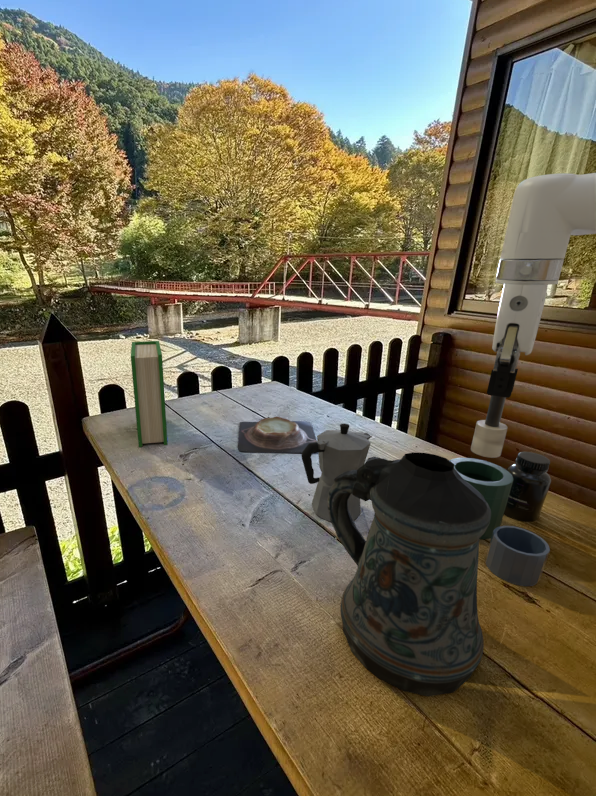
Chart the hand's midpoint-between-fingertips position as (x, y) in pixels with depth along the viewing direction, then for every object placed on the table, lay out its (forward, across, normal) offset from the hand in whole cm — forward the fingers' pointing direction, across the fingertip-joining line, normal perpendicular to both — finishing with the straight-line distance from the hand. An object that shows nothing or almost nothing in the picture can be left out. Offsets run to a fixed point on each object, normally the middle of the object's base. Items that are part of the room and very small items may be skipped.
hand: (499, 392), depth 66 cm
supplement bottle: (+26, +9, -7) cm, 28 cm away
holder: (+25, -10, -7) cm, 28 cm away
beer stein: (+25, -32, +4) cm, 41 cm away
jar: (+25, 0, 0) cm, 25 cm away
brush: (+11, 0, 0) cm, 11 cm away
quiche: (+25, +13, +48) cm, 56 cm away
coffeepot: (+25, -11, +22) cm, 35 cm away
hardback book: (+25, -6, +77) cm, 82 cm away
